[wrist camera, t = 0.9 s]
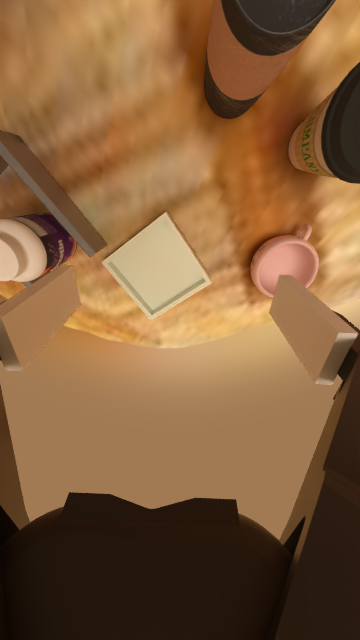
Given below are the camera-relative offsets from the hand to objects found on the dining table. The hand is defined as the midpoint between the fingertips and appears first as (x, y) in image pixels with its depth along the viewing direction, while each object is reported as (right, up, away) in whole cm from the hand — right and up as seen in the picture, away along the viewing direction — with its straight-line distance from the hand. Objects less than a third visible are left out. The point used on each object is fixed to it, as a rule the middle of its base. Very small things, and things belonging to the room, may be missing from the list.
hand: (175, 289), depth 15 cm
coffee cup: (+19, +23, +18) cm, 34 cm away
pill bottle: (-21, +12, +25) cm, 35 cm away
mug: (+17, +9, +25) cm, 32 cm away
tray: (-4, +7, +27) cm, 28 cm away
